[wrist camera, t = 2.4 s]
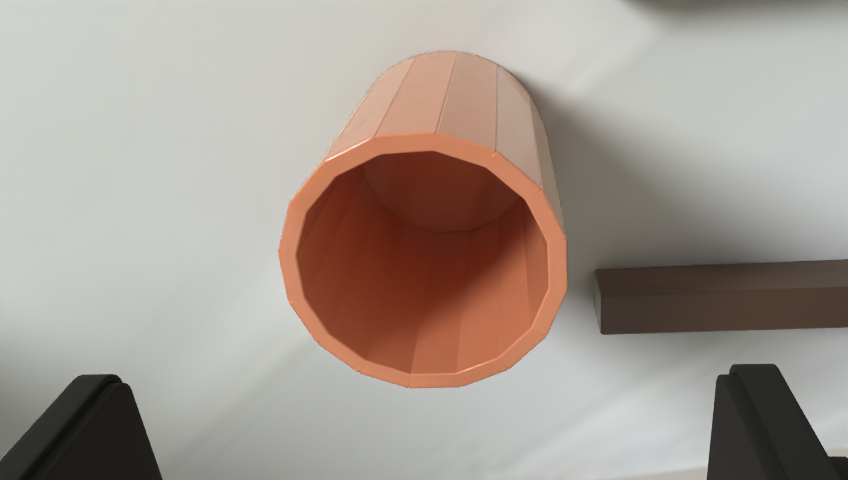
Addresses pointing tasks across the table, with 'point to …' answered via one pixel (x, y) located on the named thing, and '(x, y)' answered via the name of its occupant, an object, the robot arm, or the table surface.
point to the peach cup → (430, 228)
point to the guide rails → (722, 297)
